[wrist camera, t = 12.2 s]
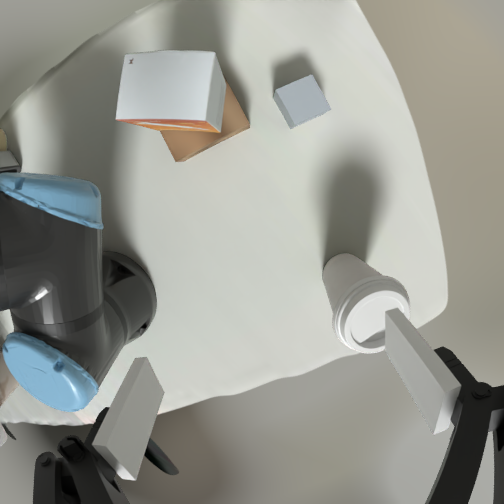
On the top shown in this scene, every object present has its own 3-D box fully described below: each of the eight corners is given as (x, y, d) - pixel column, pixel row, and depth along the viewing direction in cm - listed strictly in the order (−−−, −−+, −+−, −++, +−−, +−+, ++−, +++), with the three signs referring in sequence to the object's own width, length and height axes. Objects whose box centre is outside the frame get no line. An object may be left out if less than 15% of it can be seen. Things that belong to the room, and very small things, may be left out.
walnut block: (184, 161, 40) (175, 161, 36) (154, 101, 38) (142, 95, 33) (249, 128, 39) (249, 123, 34) (217, 67, 36) (213, 56, 32)
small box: (157, 131, 34) (112, 120, 22) (163, 82, 32) (123, 52, 20) (222, 134, 35) (206, 121, 22) (228, 84, 33) (216, 48, 20)
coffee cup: (318, 309, 46) (341, 368, 32) (306, 251, 44) (330, 297, 29) (375, 293, 46) (416, 344, 31) (368, 236, 43) (415, 272, 29)
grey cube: (290, 129, 39) (295, 125, 34) (273, 97, 37) (275, 89, 33) (322, 114, 38) (331, 109, 33) (305, 83, 37) (312, 74, 32)
